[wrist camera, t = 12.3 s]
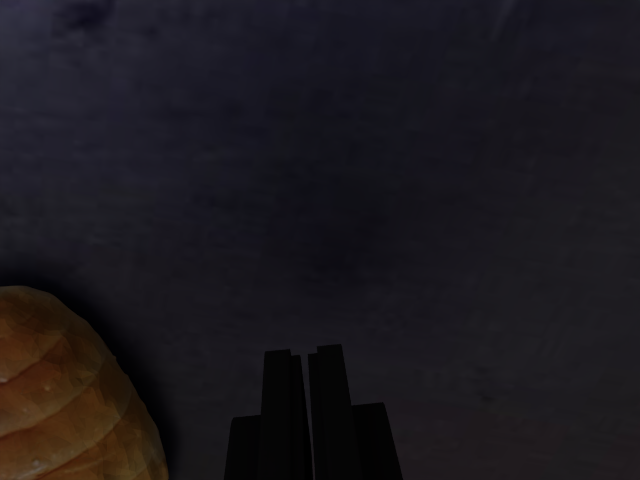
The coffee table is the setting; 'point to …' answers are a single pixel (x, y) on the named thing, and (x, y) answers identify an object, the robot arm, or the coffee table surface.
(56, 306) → the pastry
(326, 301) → the coffee table surface
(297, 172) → the coffee table surface
